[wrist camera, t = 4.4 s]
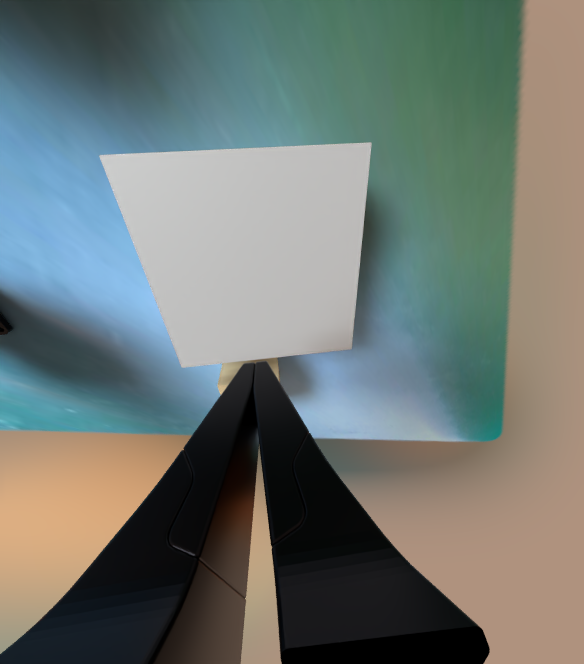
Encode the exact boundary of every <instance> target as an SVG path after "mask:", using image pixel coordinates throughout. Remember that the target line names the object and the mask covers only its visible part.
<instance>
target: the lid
mask: <svg viewBox="0 0 584 664" xmlns="http://www.w3.org/2000/svg"><path fill="white" fill-rule="evenodd" d="M370 153H371V143H352V144H330V145H308V146H287V147H265V148H244V149H222V150H200V151H179V152H157V153H135V154H114V155H99V156H100V159H101V162H102V164H103V167H104V169H105V172H106V174H107V177H108V180H109V182H110V185H111V187H112V190H113V192H114V195H115V198H116V200H117V203H118V205H119V208H120V210H121V213H122V215H123V218H124V221H125V223H126V226H127V228H128V231H129V233H130V236H131V239H132V241H133V244H134V246H135V249H136V251H137V254H138V257H139V259H140V262H141V264H142V267H143V269H144V272H145V274H146V277H147V280H148V282H149V285H150V287H151V290H152V292H153V295H154V298H155V300H156V303H157V305H158V308H159V310H160V313H161V316H162V318H163V321H164V323H165V326H166V328H167V331H168V333H169V336H170V339H171V341H172V344H173V346H174V349H175V351H176V354H177V357H178V359H179V362H180V364H181V367H182V368H184V367H194V366H203V365H212V364H221V363H230V362H239V361H248V360H258V359H267V358H276V357H285V356H294V355H303V354H313V353H322V352H331V351H340V350H349V349H352V339H353V328H354V318H355V308H356V298H357V287H358V277H359V267H360V256H361V246H362V236H363V225H364V215H365V205H366V194H367V184H368V174H369V163H370Z"/></svg>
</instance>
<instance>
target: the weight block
mask: <svg viewBox="0 0 584 664" xmlns="http://www.w3.org/2000/svg"><path fill="white" fill-rule="evenodd" d="M259 361H267V362H268V363H269V365H270V367H271V368H272V370H273V372H274V373H275V375H276V377H277V379H278V380H279V382H280V376H279V367H278V358H277V357H276V358H267V359H258V360H248V361H239V362H230V363H222V368H221V372H220V377H219V381H218V389H219V392H220V395H221V394H222V393H223V391H224V390H225V389H226V387H227V386H228V384H229V383H230V382H231V380H232V379H233V377H234V376H235V375H236V373H237V372H238V370H239V369H240V367H241V366H242V365H243V364H244V363H251V362H254V363H256V362H259Z"/></svg>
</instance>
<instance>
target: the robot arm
mask: <svg viewBox="0 0 584 664" xmlns="http://www.w3.org/2000/svg"><path fill="white" fill-rule="evenodd" d="M12 330H13V328H12V326H11V325H10V324H9V323H8V322H7V321H6V320H5V318H4V317H3V316H2V315H1V314H0V335H5V334H8V333H9V332H11V331H12ZM259 445H260V454H261V463H262V471H263V479H264V488H265V496H266V505H267V513H268V522H269V531H270V539H271V546H272V556H273V565H274V575H275V586H276V598H277V611H278V625H279V640H280V654H281V662H282V664H483V663H484V662H485V660H486V658H487V657H488V655H489V650H490V649H489V645H488V643H487V640H486V637H485V635H484V632H483V630H482V629H481V628H480V627H479V626H478V625H477V624H476V623H475V622H474V621H473V620H471V619H470V618H469V617H468V616H467V615H466V614H465V613H464V612H463V611H462V610H461V609H459V608H458V607H457V606H456V605H455V604H454V603H453V602H452V601H451V600H449V599H448V598H447V597H446V596H445V595H444V594H443V593H442V592H441V591H440V590H438V589H437V588H436V587H435V586H434V585H433V584H432V583H431V582H429V580H427V579H426V578H425V577H424V576H423V575H422V574H421V573H420V572H419V571H417V570H416V569H415V568H414V567H413V566H412V565H411V564H410V563H409V562H408V561H407V560H406V559H405V558H404V557H403V556H402V555H401V554H400V552H399V551H398V550H397V549H396V548H395V547H394V546H393V545H392V544H391V542H390V541H389V540H388V539H387V538H386V536H385V535H384V534H383V533H382V532H381V530H380V529H379V528H378V526H377V525H376V524H375V523H374V521H373V520H372V519H371V517H370V516H369V515H368V514H367V512H366V511H365V510H364V508H363V507H362V506H361V505H360V503H359V502H358V501H357V499H356V498H355V497H354V495H353V494H352V493H351V492H350V490H349V489H348V488H347V486H346V485H345V484H344V483H343V481H342V480H341V479H340V477H339V476H338V475H337V473H336V472H335V470H334V469H333V468H332V466H331V465H330V464H329V462H328V461H327V459H326V458H325V456H324V455H323V453H322V452H321V450H320V449H319V447H318V445H317V444H316V442H315V440H314V439H313V437H312V435H311V434H310V433H309V431H308V429H307V427H306V426H305V424H304V422H303V421H302V419H301V417H300V415H299V414H298V412H297V410H296V409H295V407H294V405H293V404H292V402H291V400H290V399H289V397H288V395H287V394H286V392H285V390H284V389H283V387H282V385H281V384H280V382H279V380H278V379H277V377H276V375H275V373H274V372H273V370H272V368H271V367H270V365H269V363H268V362H267V361H259V362H256V363H254V362H251V363H244V364H243V365H242V366H241V367H240V369H239V370H238V372H237V373H236V375H235V376H234V377H233V379H232V380H231V382H230V383H229V384H228V386H227V387H226V389H225V390H224V391H223V393H222V394H221V396H220V397H219V399H218V400H217V401H216V403H215V404H214V406H213V407H212V408H211V410H210V411H209V413H208V414H207V415H206V417H205V418H204V420H203V421H202V423H201V424H200V425H199V427H198V428H197V430H196V431H195V432H194V434H193V435H192V437H191V438H190V439H189V441H188V442H187V444H186V445H185V447H184V450H182V451H181V452H180V453H179V455H178V456H177V458H176V459H175V461H174V462H173V463H172V465H171V466H170V467H169V469H168V470H167V471H166V473H165V474H164V475H163V477H162V478H161V480H160V481H159V482H158V484H157V485H156V486H155V487H154V489H153V490H152V491H151V492H150V494H149V495H148V496H147V497H146V499H145V500H144V501H143V502H142V504H141V505H140V506H139V507H138V509H137V510H136V511H135V512H134V513H133V515H132V516H131V517H130V518H129V519H128V521H127V522H126V523H125V524H124V526H123V527H122V528H121V529H120V530H119V531H118V533H117V534H116V535H115V536H114V538H113V539H112V540H111V541H110V542H109V543H108V545H107V546H106V547H105V548H104V549H103V551H102V552H101V553H100V554H99V555H98V557H97V558H96V559H95V560H94V561H93V563H92V564H91V565H90V566H89V567H88V569H87V570H86V571H85V572H84V573H83V575H82V576H81V577H80V578H79V579H78V581H77V582H76V583H75V584H74V585H73V586H72V588H70V590H69V591H68V592H67V593H66V594H65V595H64V596H63V597H62V598H61V599H60V600H59V602H58V603H57V604H56V605H55V606H54V607H53V608H52V609H51V610H50V611H49V612H48V613H47V614H46V615H45V616H43V617H42V619H40V620H39V621H38V622H37V623H36V624H35V625H34V626H33V627H32V628H31V629H30V630H29V631H27V632H26V633H25V634H24V635H23V636H22V637H20V638H19V639H18V640H17V641H16V642H14V643H13V644H12V645H11V646H10V647H8V648H7V649H6V650H5V651H4V652H2V653H1V654H0V664H240V662H241V650H242V639H243V628H244V616H245V604H246V600H245V598H246V591H247V578H248V567H249V555H250V544H251V532H252V520H253V508H254V496H255V485H256V473H257V461H258V449H259Z"/></svg>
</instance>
